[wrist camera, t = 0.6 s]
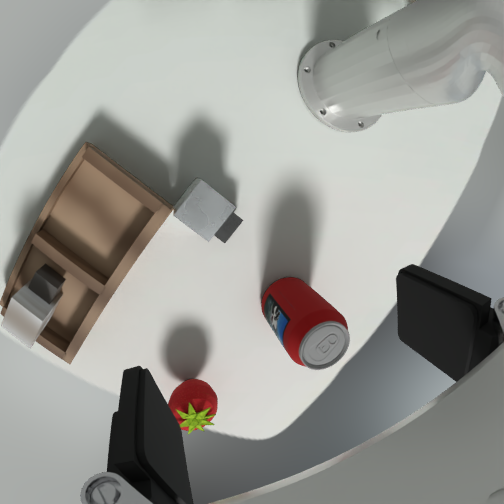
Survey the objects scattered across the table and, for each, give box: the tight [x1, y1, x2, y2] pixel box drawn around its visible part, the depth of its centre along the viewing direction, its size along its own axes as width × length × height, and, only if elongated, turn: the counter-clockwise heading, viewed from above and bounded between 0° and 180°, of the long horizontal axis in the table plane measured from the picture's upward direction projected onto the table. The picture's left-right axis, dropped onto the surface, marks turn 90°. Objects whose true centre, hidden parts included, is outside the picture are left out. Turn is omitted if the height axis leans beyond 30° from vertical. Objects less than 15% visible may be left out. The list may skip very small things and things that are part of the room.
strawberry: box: [168, 379, 218, 434], centre depth 35 cm, size 6×8×10 cm
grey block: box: [174, 178, 243, 243], centre depth 31 cm, size 6×4×7 cm, turn 50°
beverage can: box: [261, 277, 350, 370], centre depth 34 cm, size 7×7×12 cm
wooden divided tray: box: [0, 142, 174, 364], centre depth 28 cm, size 22×12×9 cm, turn 140°
